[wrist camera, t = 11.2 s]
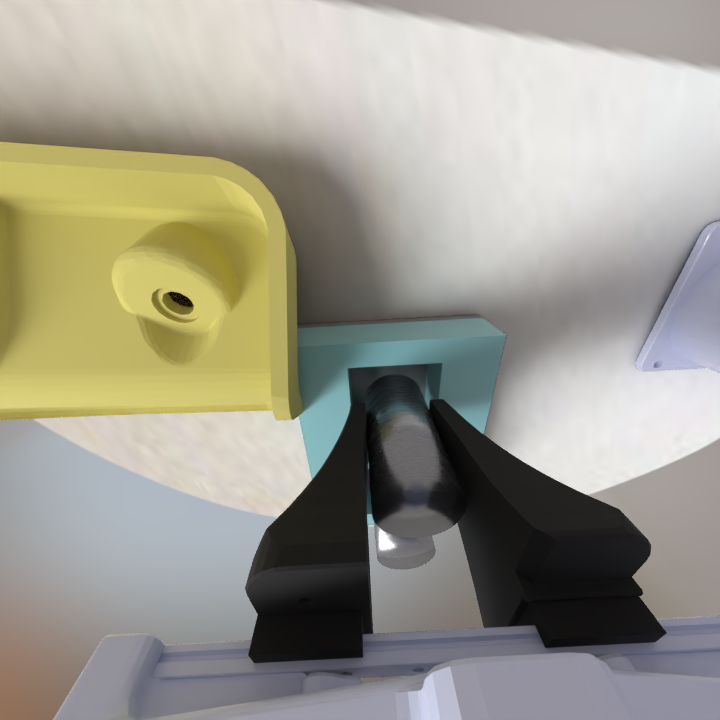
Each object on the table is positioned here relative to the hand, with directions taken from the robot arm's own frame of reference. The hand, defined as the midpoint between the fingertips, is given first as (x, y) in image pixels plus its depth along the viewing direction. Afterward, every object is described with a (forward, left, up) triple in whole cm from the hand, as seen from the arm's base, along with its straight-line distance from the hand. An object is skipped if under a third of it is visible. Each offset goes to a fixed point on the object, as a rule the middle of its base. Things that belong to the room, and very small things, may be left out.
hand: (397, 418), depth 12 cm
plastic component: (+14, -6, -4) cm, 15 cm away
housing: (0, +3, -4) cm, 5 cm away
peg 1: (0, 0, -2) cm, 2 cm away
